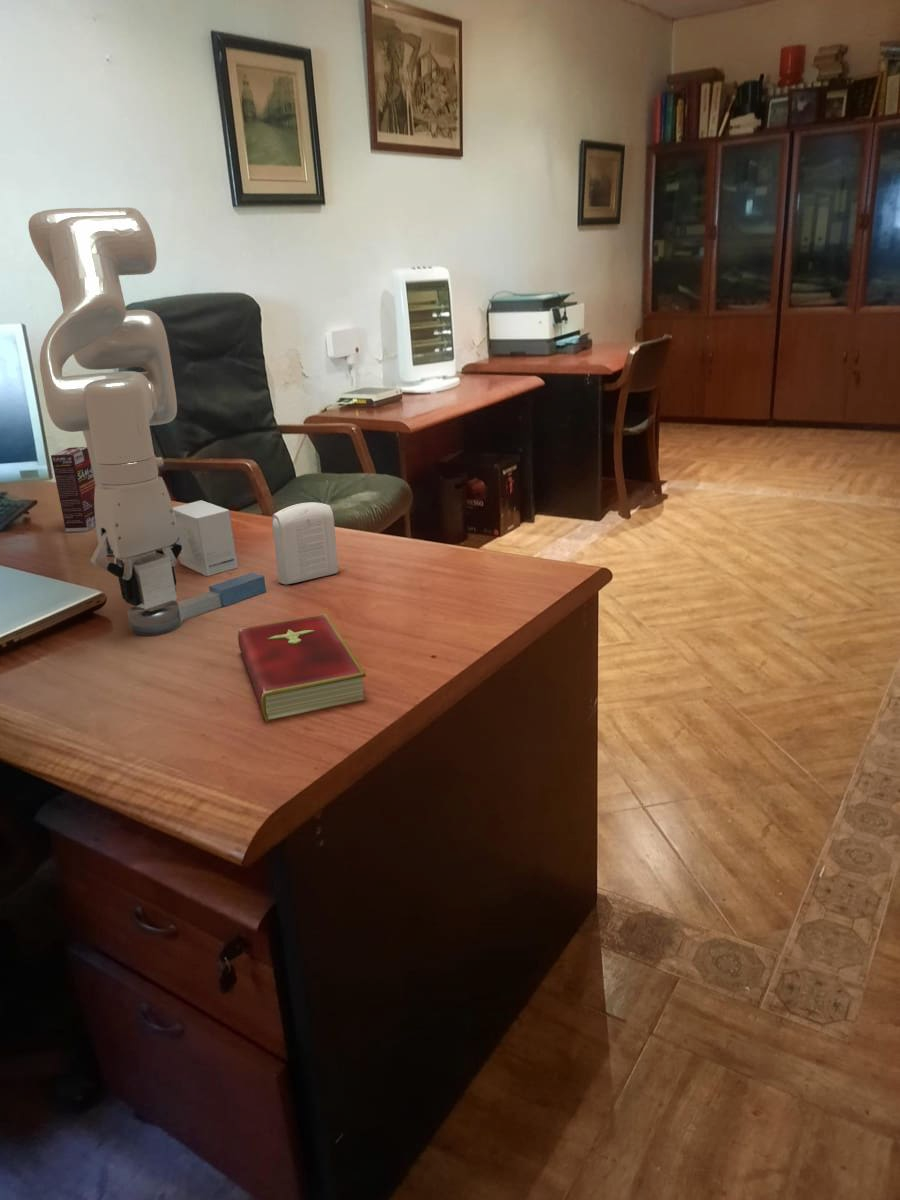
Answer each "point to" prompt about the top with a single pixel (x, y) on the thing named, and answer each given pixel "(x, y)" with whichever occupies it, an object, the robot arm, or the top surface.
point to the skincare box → (206, 538)
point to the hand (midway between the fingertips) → (150, 596)
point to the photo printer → (304, 542)
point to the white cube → (153, 579)
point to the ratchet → (193, 605)
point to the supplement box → (75, 488)
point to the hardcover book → (300, 666)
